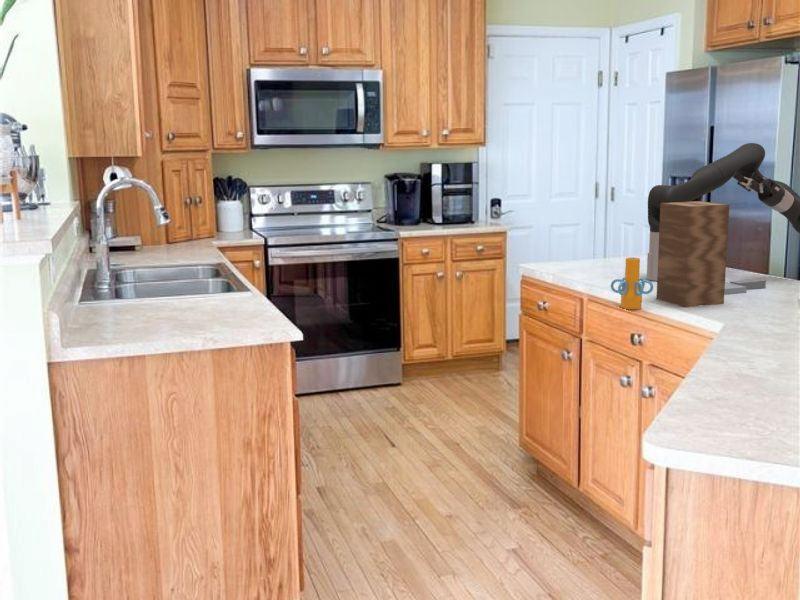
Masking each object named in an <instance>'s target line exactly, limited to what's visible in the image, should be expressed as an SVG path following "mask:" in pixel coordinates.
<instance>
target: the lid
mask: <svg viewBox="0 0 800 600" xmlns="http://www.w3.org/2000/svg"><path fill="white" fill-rule="evenodd" d="M766 284H767V280H765V279H761V278H752V279H740V280H732V281H731V280H730V281H729V282H727V281H725V289H724V296H727V295H737V294H739V295H740V294H746V293H747V291H748V290H758V289H766V286H767V285H766Z"/></svg>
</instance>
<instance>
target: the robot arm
mask: <svg viewBox="0 0 800 600" xmlns="http://www.w3.org/2000/svg"><path fill="white" fill-rule="evenodd" d="M765 157H766V150H765V148H764V147H763V146H762V145H761V144H759V143H755V142H748V143H745V144H742V145H741V146H738V147H737V149H735V150H733V151H732V152H730V153H728V154H727V155H725V156H722V157H720V158H719V159H717V160H714V161H713V162H711V163H708V164H706V165H704V166H702V167H700V168H698V169H697V170H695V171H693V173H692V175H691V176H690V179H688V180H687V181H685V182H682V183H679V184H676V185H663V184H657V185H654V186H652V188H651V189H650V191H649V194H648V198H647V222H648V226H649V240H648V241H649V245H648V252H647V259H646V261H647V264H646V265H647V266H646V280H649V281H654V282H657V273H658V250H659V226H660V203H675V202H691V201H693V200H695V199H696V198H699V197H701V196H702V197H703V196H704V195H707V194H709V193H711V192H714V191H715V190H716V189H719V188H721V187H722V186H724V185H725V184H726V183H728V181H730V180H731V179H732V178H733V179H735V180H736V181H737V183H736V185H738V186H740V187H741V188H743V189H744V190H746V191H747V192H751V191H752V192H754V193H756V194H757V197H758V198H757V199H758V200H759V201H760V202H762V204H764V205H767V207H769V208H771V209H772V210H773V211H776V212H777V213H779V214H780V215H782V216H783V217H784V218H785V219H787V220H788V222H789V223H790V224H791V226H792V228H793V229H794V230H795V231H796V232H797V233H798V234H800V195H799V194H798V193H797V192H796V191H795V190H794V189H793V188H792V187H791V186H790V185H788V184H787V183H785V182H783V181H778V180H775V179H771V178H768V177H765V176H764V174H762V173H761V172H760V170H759V169H760V167H761V165H762V163H763V162H764V160H765Z"/></svg>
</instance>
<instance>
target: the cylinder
mask: <svg viewBox="0 0 800 600" xmlns="http://www.w3.org/2000/svg"><path fill="white" fill-rule="evenodd" d="M640 262H641V259H640V257H636V256H635V257H633V256H632V257H631V256H630V257H625V270H624V271H625V273H624V277H622V279H621V278H615V279H613V280H612V282H611V283H610V289H611V291H612V292H614V293H617V294H619V295H620V308H621V309H623V310H631V311H634V310H636V311H637V310H641V309H642V301H643V294H644V295H649V294H650V293H652V292H653V291H654V284H653V282H652V280H647V279H644V278H643V277H640V267H641V266H640V264H641V263H640ZM618 282H619V284H618V287H617V289H616V288H615V287H614V285H615V283H618ZM647 283H648V284H649V286H650V288H649V290H647V291H645V290H644V288H645V284H647Z"/></svg>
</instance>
